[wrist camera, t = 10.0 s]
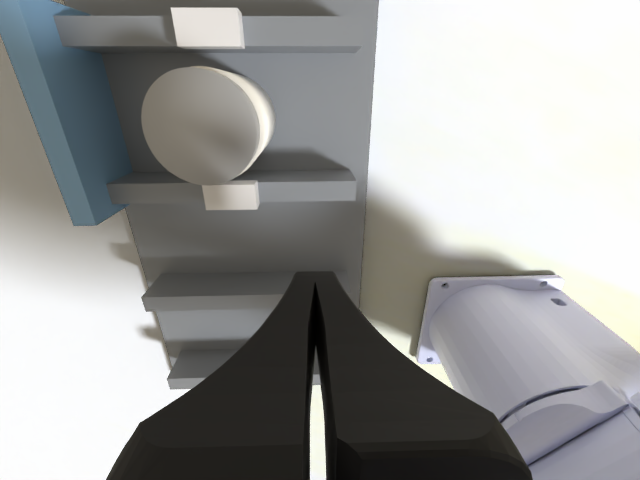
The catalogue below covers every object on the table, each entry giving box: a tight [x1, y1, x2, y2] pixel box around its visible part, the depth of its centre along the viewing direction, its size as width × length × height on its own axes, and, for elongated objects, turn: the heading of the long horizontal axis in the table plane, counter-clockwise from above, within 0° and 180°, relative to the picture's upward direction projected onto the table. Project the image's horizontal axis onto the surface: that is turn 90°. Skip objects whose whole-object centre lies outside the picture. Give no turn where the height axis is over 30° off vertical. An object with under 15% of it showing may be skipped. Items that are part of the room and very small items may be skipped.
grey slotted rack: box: [0, 0, 379, 389], centre depth 17 cm, size 14×26×5 cm, turn 0°
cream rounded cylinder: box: [141, 66, 276, 186], centre depth 13 cm, size 4×4×6 cm
